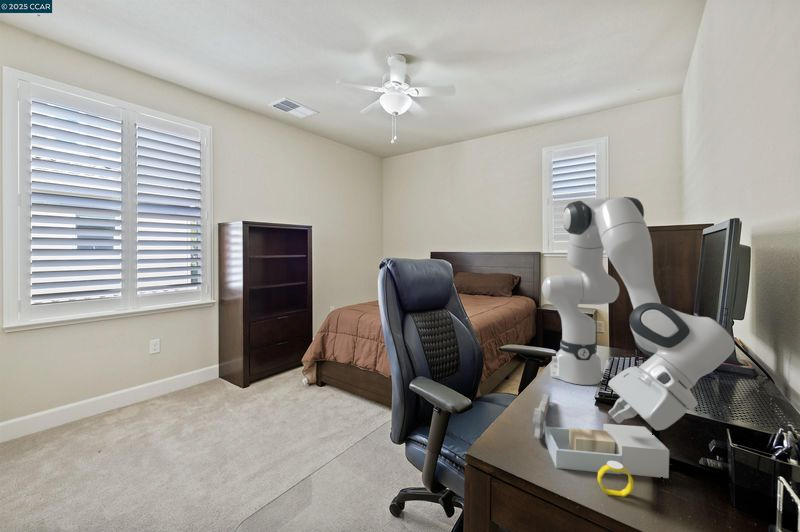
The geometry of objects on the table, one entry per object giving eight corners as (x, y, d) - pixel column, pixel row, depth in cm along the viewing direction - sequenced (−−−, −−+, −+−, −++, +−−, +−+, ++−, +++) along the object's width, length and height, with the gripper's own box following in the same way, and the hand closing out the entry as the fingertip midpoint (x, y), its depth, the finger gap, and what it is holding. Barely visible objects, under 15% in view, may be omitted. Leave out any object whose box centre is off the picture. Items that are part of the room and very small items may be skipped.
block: (605, 451, 82) (569, 448, 84) (605, 430, 82) (569, 427, 84) (614, 464, 77) (575, 460, 79) (615, 442, 77) (576, 438, 79)
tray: (545, 442, 88) (545, 426, 87) (601, 447, 85) (601, 431, 85) (556, 467, 77) (556, 450, 77) (620, 474, 75) (621, 456, 75)
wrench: (549, 412, 111) (540, 447, 84) (543, 410, 112) (531, 446, 85) (550, 386, 111) (540, 413, 85) (543, 385, 112) (532, 411, 86)
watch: (601, 498, 68) (599, 467, 68) (596, 488, 71) (594, 459, 71) (636, 500, 67) (634, 469, 67) (629, 490, 70) (627, 461, 70)
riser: (603, 448, 85) (603, 423, 85) (644, 451, 83) (644, 426, 83) (621, 473, 75) (621, 446, 75) (668, 478, 74) (669, 450, 73)
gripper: (629, 354, 88) (586, 390, 90) (678, 384, 68) (621, 429, 70) (649, 372, 88) (605, 408, 90) (703, 409, 67) (645, 453, 70)
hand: (612, 418), depth 80 cm, fingers closed
